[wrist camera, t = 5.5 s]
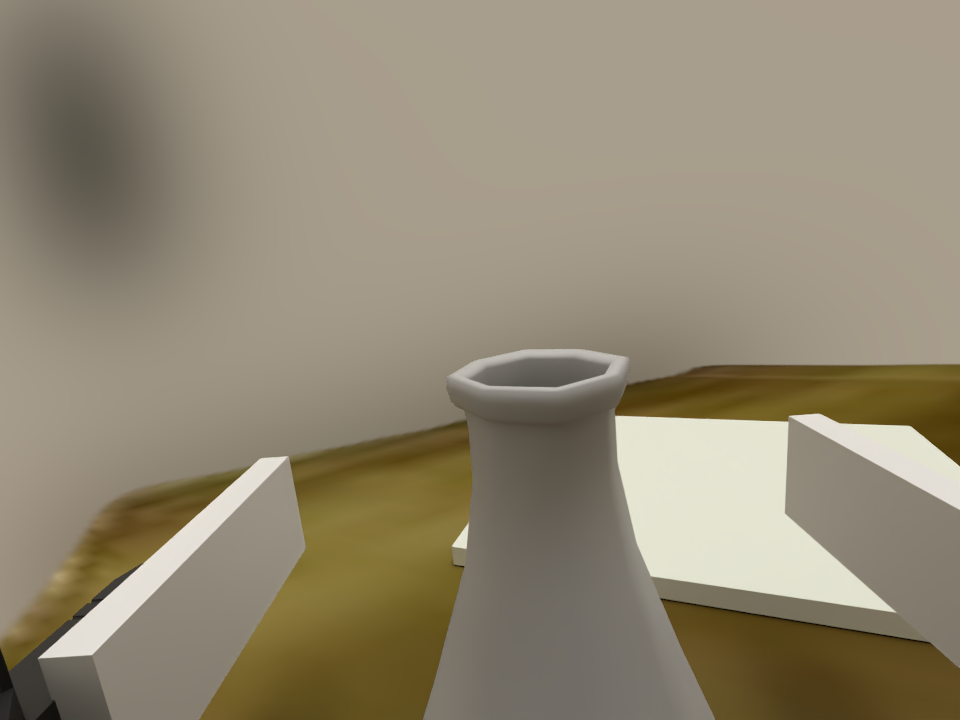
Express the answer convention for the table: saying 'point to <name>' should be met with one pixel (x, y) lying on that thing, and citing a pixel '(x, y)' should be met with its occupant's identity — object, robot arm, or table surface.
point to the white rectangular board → (742, 521)
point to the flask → (554, 557)
